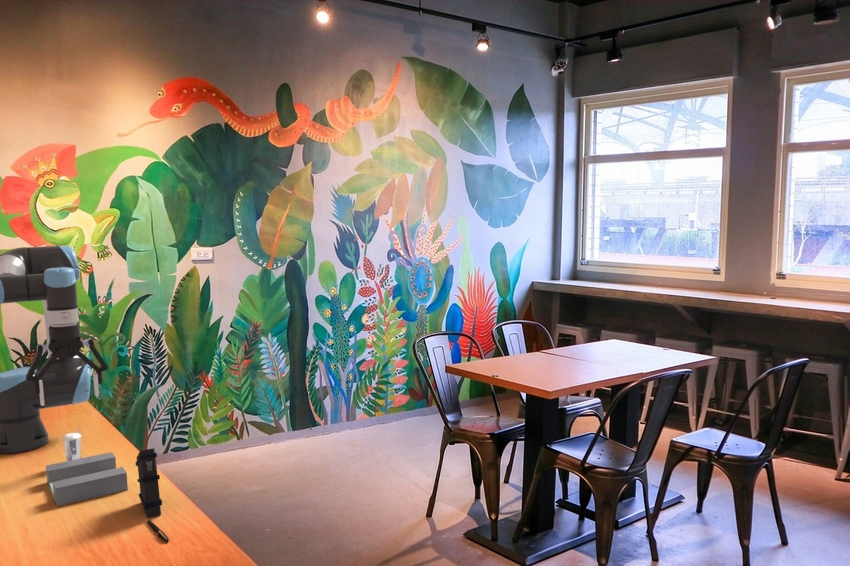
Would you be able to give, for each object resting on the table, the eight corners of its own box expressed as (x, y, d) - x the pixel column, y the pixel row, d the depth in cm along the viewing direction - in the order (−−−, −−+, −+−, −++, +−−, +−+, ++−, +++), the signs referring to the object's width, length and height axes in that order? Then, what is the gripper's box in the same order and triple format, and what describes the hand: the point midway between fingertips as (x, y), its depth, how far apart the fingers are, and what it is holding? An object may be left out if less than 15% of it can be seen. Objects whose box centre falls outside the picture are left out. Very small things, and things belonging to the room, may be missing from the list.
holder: (47, 482, 183) (45, 465, 182) (112, 467, 192) (111, 452, 191) (57, 506, 167) (55, 488, 167) (127, 489, 176) (126, 472, 176)
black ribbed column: (147, 517, 156) (138, 450, 160) (141, 521, 167) (134, 459, 171) (164, 513, 158) (156, 447, 162) (158, 518, 169) (150, 456, 173)
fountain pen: (143, 522, 158) (143, 516, 158) (149, 521, 159) (148, 514, 159) (165, 545, 147) (165, 538, 147) (171, 543, 148) (170, 536, 147)
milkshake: (89, 462, 197) (86, 427, 196) (74, 468, 192) (71, 433, 191) (76, 460, 199) (73, 426, 197) (61, 467, 193) (58, 432, 192)
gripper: (12, 331, 181) (19, 411, 183) (115, 320, 195) (121, 395, 197) (9, 328, 187) (17, 405, 189) (110, 317, 201) (115, 389, 203)
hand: (70, 400), depth 193 cm, fingers open, 13 cm apart
